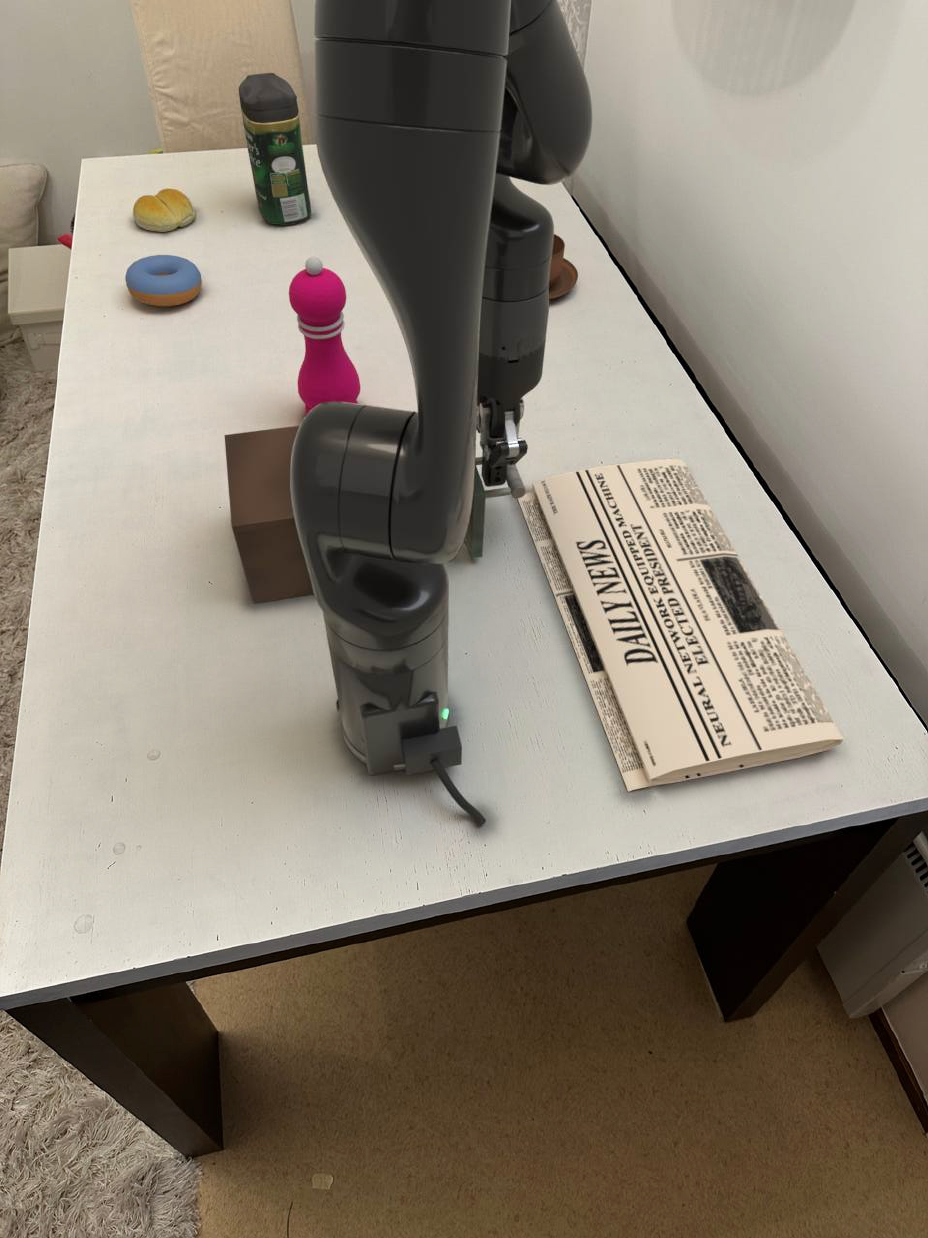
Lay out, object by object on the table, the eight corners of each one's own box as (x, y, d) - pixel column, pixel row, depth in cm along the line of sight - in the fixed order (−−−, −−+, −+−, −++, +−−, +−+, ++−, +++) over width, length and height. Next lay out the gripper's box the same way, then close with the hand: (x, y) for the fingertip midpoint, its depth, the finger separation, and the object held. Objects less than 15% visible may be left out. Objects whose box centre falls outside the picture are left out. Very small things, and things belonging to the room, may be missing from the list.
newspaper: (836, 750, 74) (848, 734, 72) (628, 792, 71) (634, 776, 69) (680, 473, 96) (685, 454, 94) (516, 496, 93) (518, 477, 91)
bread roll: (127, 217, 131) (120, 191, 128) (182, 202, 134) (176, 176, 131) (148, 239, 127) (141, 213, 123) (204, 223, 130) (198, 197, 127)
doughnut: (188, 269, 121) (181, 238, 118) (216, 302, 116) (209, 270, 113) (121, 288, 118) (111, 257, 114) (146, 323, 113) (136, 291, 109)
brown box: (380, 495, 93) (374, 415, 85) (400, 580, 85) (396, 502, 77) (244, 514, 91) (224, 434, 82) (252, 603, 83) (231, 526, 75)
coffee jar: (253, 202, 134) (230, 70, 120) (302, 195, 136) (285, 64, 122) (266, 230, 129) (244, 96, 114) (316, 223, 131) (301, 89, 116)
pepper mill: (353, 440, 99) (336, 280, 83) (294, 431, 100) (266, 271, 84) (370, 402, 103) (357, 244, 88) (313, 394, 104) (290, 236, 88)
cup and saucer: (579, 309, 117) (584, 267, 112) (492, 306, 117) (494, 264, 112) (573, 264, 124) (579, 223, 120) (492, 262, 124) (494, 220, 120)
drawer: (501, 475, 94) (505, 410, 87) (529, 550, 87) (536, 485, 80) (335, 498, 91) (326, 433, 84) (350, 577, 84) (342, 513, 77)
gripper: (445, 292, 76) (444, 444, 89) (477, 378, 68) (471, 531, 81) (525, 285, 77) (512, 436, 91) (566, 368, 69) (546, 521, 82)
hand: (493, 481), depth 86 cm, fingers closed
